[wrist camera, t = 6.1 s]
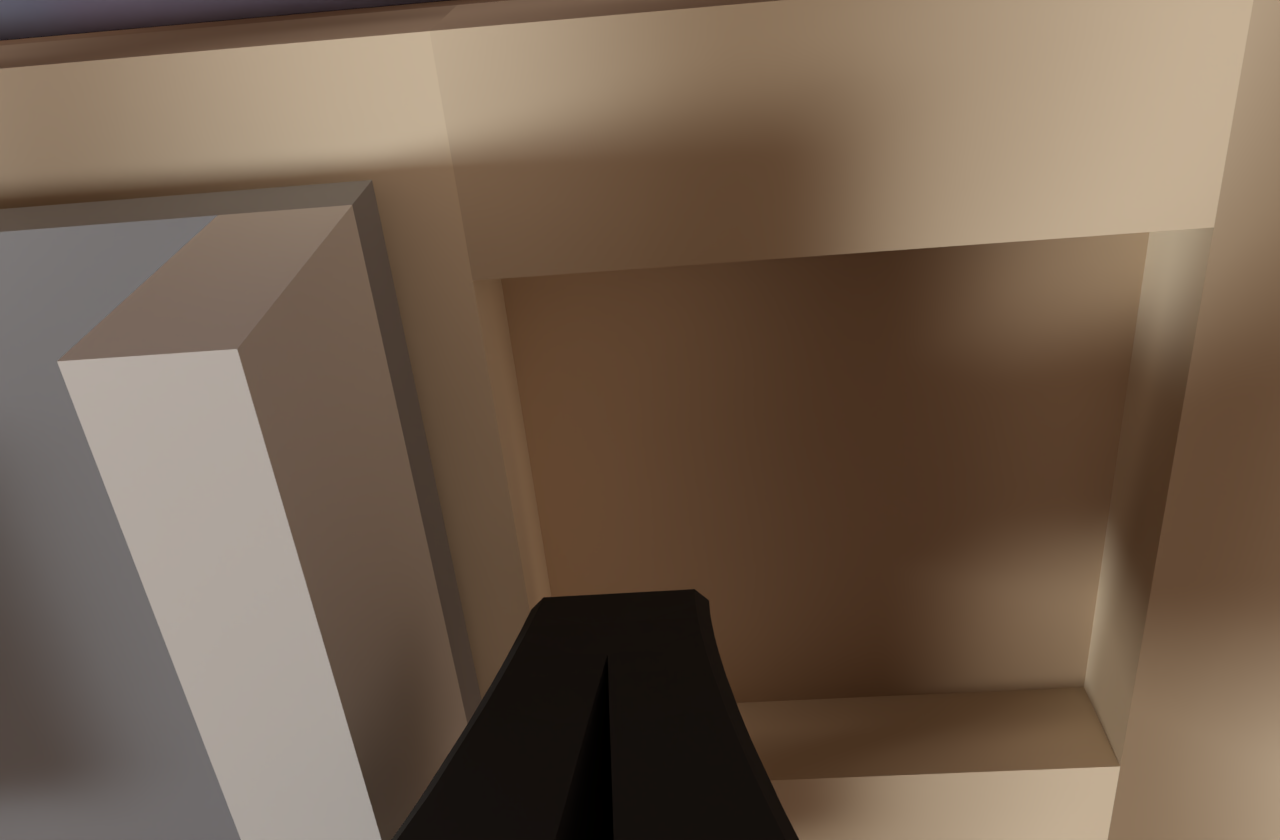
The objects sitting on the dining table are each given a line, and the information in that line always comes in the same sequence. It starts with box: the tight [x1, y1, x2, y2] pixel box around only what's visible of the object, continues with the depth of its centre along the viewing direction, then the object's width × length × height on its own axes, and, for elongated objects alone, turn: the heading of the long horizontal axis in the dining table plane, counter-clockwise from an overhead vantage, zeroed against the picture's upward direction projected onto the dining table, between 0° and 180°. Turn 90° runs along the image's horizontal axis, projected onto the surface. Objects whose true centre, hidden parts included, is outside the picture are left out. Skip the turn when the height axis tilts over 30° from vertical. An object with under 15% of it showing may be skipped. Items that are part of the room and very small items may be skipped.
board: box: [0, 0, 1280, 840], centre depth 12 cm, size 22×10×2 cm, turn 95°
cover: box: [0, 180, 481, 840], centre depth 9 cm, size 7×8×3 cm
